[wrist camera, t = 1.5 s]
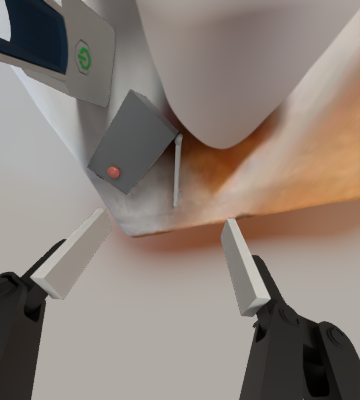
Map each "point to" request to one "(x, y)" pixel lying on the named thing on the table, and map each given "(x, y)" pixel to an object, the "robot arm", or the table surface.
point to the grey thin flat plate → (177, 169)
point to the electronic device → (61, 47)
